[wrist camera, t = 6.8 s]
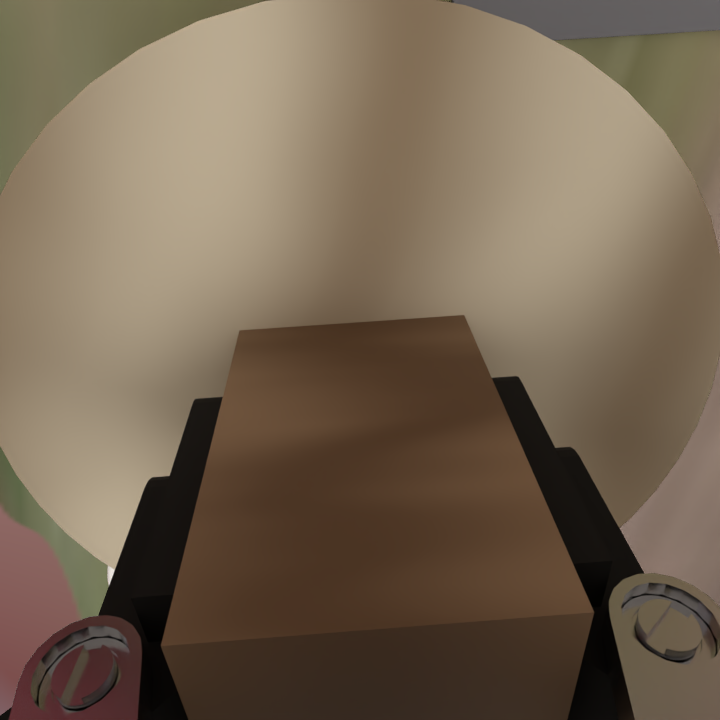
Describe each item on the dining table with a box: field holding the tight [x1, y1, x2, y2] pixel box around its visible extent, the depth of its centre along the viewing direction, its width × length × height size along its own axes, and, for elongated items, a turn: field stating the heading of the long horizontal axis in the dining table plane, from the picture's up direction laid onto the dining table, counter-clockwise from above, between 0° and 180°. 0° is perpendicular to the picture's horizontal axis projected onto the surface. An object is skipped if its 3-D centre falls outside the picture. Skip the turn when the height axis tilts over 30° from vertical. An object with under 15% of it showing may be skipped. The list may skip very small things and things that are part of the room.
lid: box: [0, 0, 720, 720], centre depth 10 cm, size 14×14×7 cm
